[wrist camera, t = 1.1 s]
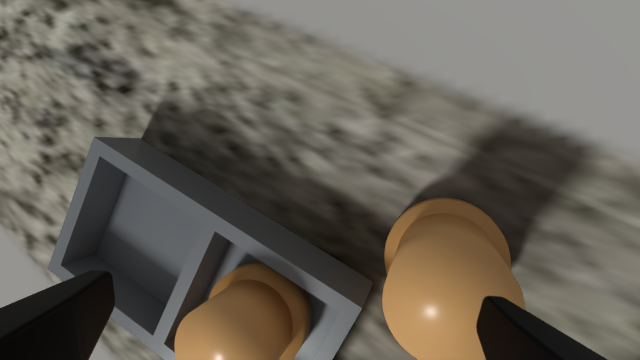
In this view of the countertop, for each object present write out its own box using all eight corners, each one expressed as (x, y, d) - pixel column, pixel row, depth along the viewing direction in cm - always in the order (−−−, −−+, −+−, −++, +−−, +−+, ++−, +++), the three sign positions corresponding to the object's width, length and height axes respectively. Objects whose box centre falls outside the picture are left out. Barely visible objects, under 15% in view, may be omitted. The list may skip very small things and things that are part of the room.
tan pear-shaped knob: (528, 233, 18) (585, 284, 11) (466, 327, 19) (484, 422, 13) (421, 176, 19) (415, 191, 13) (368, 267, 20) (338, 325, 14)
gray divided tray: (373, 282, 20) (351, 334, 15) (302, 404, 22) (258, 492, 17) (140, 138, 24) (50, 135, 18) (97, 253, 26) (2, 282, 20)
